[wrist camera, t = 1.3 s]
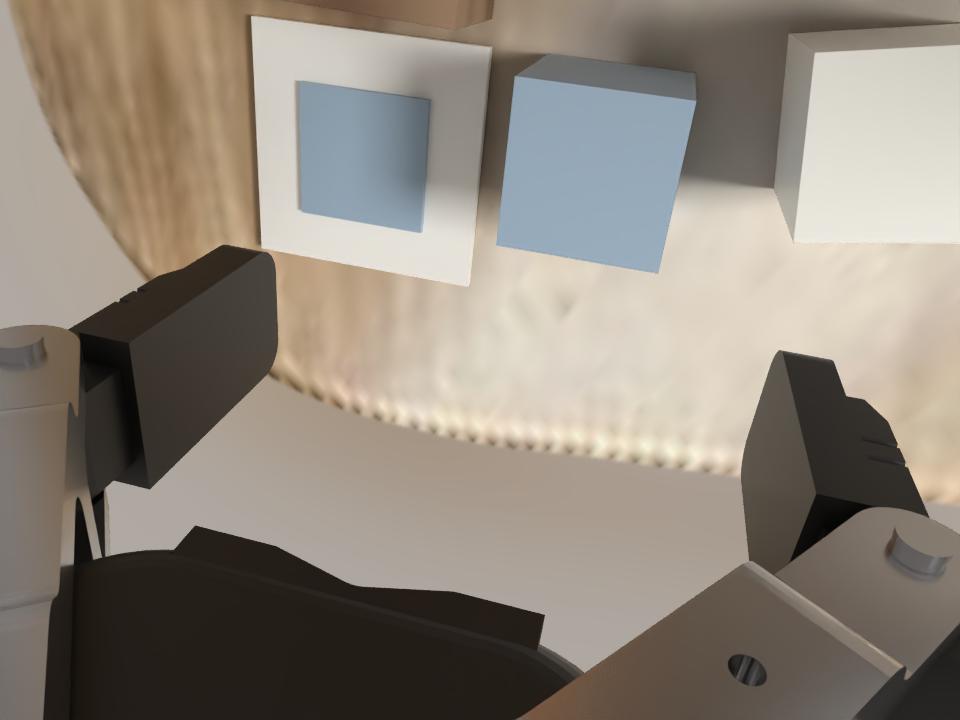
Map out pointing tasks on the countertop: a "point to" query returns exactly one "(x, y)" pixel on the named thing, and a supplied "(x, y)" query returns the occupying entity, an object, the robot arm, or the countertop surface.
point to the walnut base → (416, 10)
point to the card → (369, 146)
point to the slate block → (595, 160)
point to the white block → (871, 136)
